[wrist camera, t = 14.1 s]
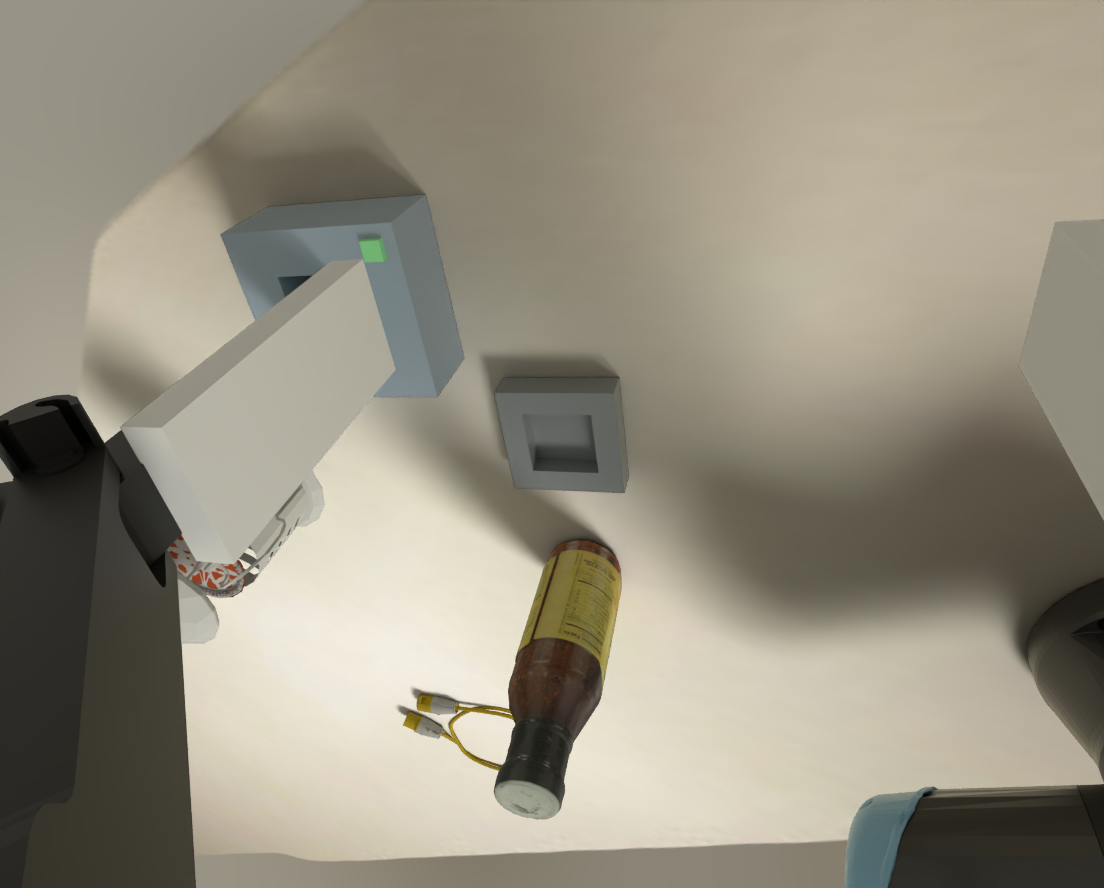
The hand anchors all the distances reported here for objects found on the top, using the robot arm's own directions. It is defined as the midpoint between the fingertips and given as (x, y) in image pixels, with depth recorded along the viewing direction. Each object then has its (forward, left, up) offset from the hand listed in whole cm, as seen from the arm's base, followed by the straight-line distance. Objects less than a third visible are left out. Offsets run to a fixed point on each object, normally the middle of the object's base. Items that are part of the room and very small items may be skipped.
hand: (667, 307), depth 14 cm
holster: (-21, +11, -27) cm, 36 cm away
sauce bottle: (-34, +11, -27) cm, 45 cm away
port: (-10, +23, -27) cm, 37 cm away
